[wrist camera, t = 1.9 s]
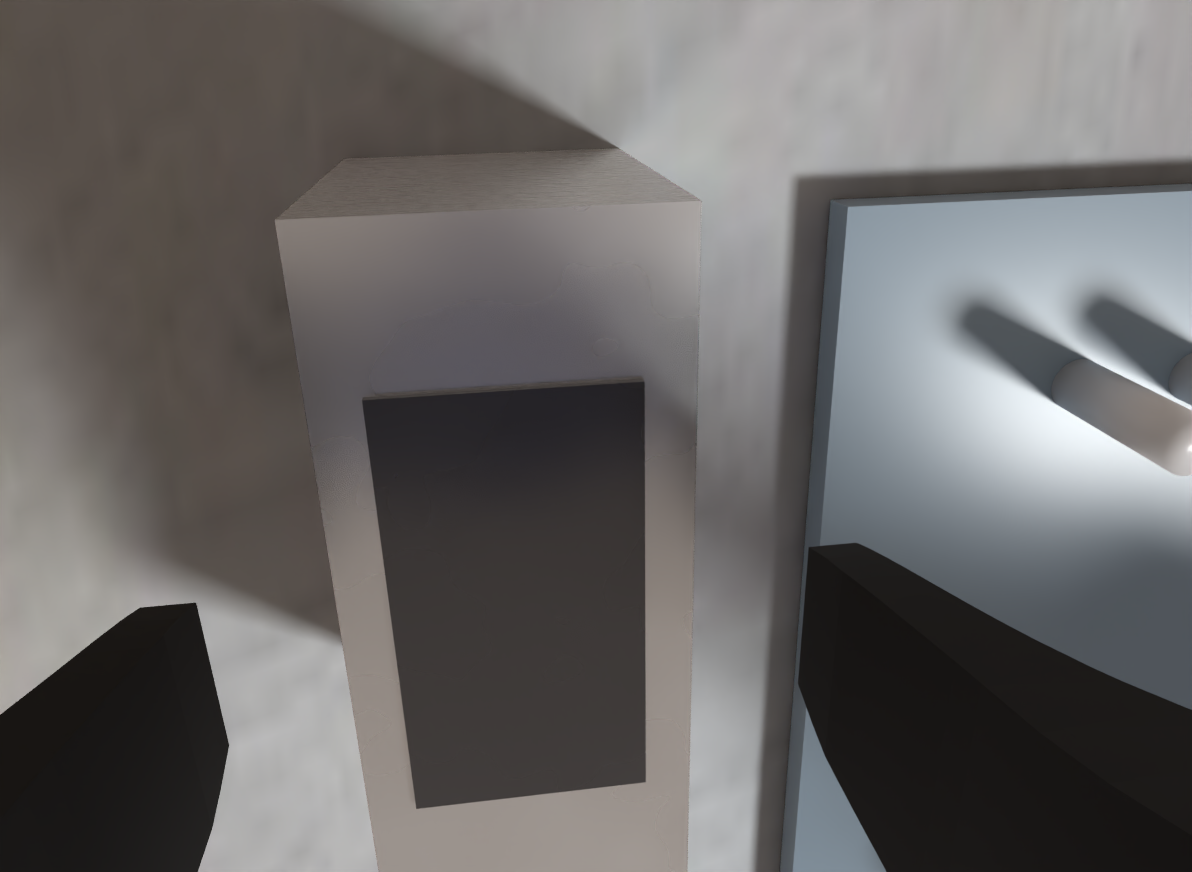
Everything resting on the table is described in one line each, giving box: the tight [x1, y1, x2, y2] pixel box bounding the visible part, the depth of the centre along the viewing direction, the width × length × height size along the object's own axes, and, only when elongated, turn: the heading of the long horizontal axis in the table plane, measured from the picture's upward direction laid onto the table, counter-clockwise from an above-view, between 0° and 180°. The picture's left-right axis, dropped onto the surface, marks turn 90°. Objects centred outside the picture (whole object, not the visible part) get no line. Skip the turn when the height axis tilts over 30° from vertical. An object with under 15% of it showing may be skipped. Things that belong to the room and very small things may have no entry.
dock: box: [780, 183, 1192, 872], centre depth 19 cm, size 12×20×4 cm, turn 2°
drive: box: [275, 148, 702, 872], centre depth 14 cm, size 4×10×6 cm, turn 2°
